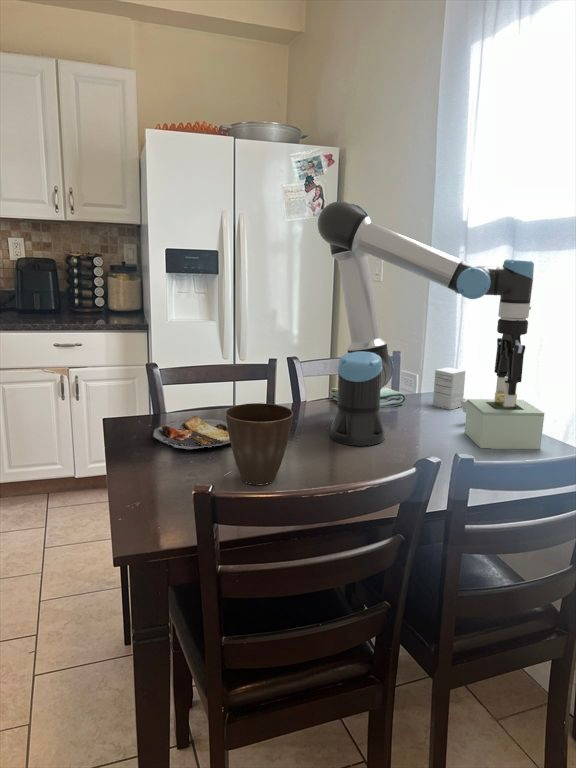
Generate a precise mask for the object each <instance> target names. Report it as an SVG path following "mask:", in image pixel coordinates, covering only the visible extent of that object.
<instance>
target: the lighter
mask: <svg viewBox="0 0 576 768" xmlns="http://www.w3.org/2000/svg"><path fill="white" fill-rule="evenodd" d="M467 399H468V398H463V399H462V400H461V401H460V402H461V406H462V407H461V408H462V411H463V413H465V414H466V410H467Z"/></svg>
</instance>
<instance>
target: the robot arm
mask: <svg viewBox="0 0 576 768" xmlns="http://www.w3.org/2000/svg"><path fill="white" fill-rule="evenodd" d="M317 219H318V220H317V230H318V233H319V234H320V237H321V238H322V239H323V240H324V241H325V242H326V243H328V244H329V249H330V254H331V257H332V258H333V259H335V260H336V261H337V262H338V264H337V265H338V270H339V276H340V283H341V287H342V294H343V300H344V306H345V312H346V318H347V324H348V331H349V338H350V344H349V346H348V347H347V349H346V350H347V352H346V353H344V354H343V355H342V356H340V358H339V362H338V366H337V372H338V375H337V376H338V377H337V387H338V401H337V409H336V413H335V415H334V418H333V421H332V423H331V426H330V430H329V431H330V434H329V437H330V439H332V440H333V441H334V442H336V443H339V444H343V445H348V446H355V445H356V447H358V446H359V447H362V446H363V447H364V446H366V445H368V446H374V444H375V445H378V443H379V444H381V443H383V442H384V440H385V437H386V436H385V426H384V424H383V419H382V417H381V413H380V412H381V411H380V409H381V408H380V391H381V389H382V387H386V385H388V383H389V382H390V380H391V378H392V377H393V373H394V362H393V360H392V357H391V356H390V354H389V351H388V344H387V341H385V340H384V339H383V338H382V337H381V333H380V327H379V321H378V320H379V319H378V313H377V308H376V307H377V306H376V301H375V296H374V289H373V282H372V276H371V270H370V264H369V263H370V262H369V257H368V255H371V256H373V257H376V258H378V259H380V260H382V261H384V262H387V263H390V264H392V265H393V266H396V267H399V268H401V269H402V270H405V271H408V272H410V273H412V274H414V275H417V276H419V277H421V278H424V279H426V280H429V281H430V282H433V283H435V284H436V285H437V284H438V285H440V286H441V287H442V286H443V287H444V288H447V289H450V290H451V291H453V292H455V294H458V295H461V296H462V297H464V298H466V299H469V300H477V299H480V298H482V297H483V296H499V297H500V299H499V305H498V306H499V307H498V314H497V316H498V317H499V318H498V319H497V328H496V329H497V330H496V332H497V333H499V334H502V336H501V337H498V338H497V339H496V343H497V344H496V356H495V365H494V373H495V374H496V378H497V379H496V387H495V388H496V389H495V392H505V394H504V404H503V406H512V407H514V406H515V396H516V394H517V386H518V383H522V378H523V367H524V366H523V365H524V356H525V352H526V345H525V344H522V341H521V336H523V335H526V334H527V333H528V327H529V321H528V318H529V316H530V310H532V306H531V298H532V291H533V282H534V270H535V269H534V268H535V263H534V261H533V260H531V259H519V258H518V259H515V258H514V259H511V258H510V259H509V258H506V259H505V260H504V261H503V264H502V265H500V266H486V265H485V266H483V265H479V266H478V265H475V264H472V263H470V262H467V261H464V260H462V259H460V258H457V257H456V256H453V255H450V254H448V253H446V252H444V251H441V250H439V249H436V248H434V247H431V246H429V245H427V244H424V243H422V242H420V241H417V240H415V239H412V238H410V237H408V236H406V235H402V234H400V233H399V232H395V231H393V230H391V229H389V228H387V227H384V226H381V225H379V224H376V223H375V222H372V219H371V218H370V216H369V214H368V212H367V211H366V210H365V209H364V208H363V207H361V206H360V205H358V204H354V203H349V202H346V201H340V200H339V201H334V202H331V203H328V204H327V205H326V206H325V207H324V208H322V210H321V212H320V213H319V215H318V218H317Z"/></svg>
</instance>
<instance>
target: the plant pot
mask: <svg viewBox="0 0 576 768" xmlns="http://www.w3.org/2000/svg"><path fill="white" fill-rule="evenodd" d="M224 413H225V418H226V420H225V421H226V422H227V427H228V433H229V438H230V443H229V444H230V446H231V450H232V455H233V457H234V458H233V459H234V460H235V464H236V466H237V470H238V472H239V473H238V474H239V475H240V478H241V480H242V482H244V481H245V482H247V483H251V484H266V483H270V482H272V481H273V482H274V481H275V480H276V477H277V475H278V472H279V470H280V468H281V465H282V462H283V459H284V455H285V452H286V449H287V446H288V443H289V438H290V434H291V429H292V422H293V419H294V411H293V410H292V409H291V408H289V407H286V406H285V405H278V404H275V403H262V402H261V403H257V402H255V403H254V402H253V403H244V404H237V405H234V406H231V407H229V408H227V409H226V411H225V412H224ZM245 482H244V483H245ZM273 482H272V483H273ZM247 483H246V484H247ZM270 484H271V483H270Z"/></svg>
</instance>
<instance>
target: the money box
mask: <svg viewBox="0 0 576 768" xmlns="http://www.w3.org/2000/svg"><path fill="white" fill-rule="evenodd" d="M466 399H467V410H466V413H465V424H464V433H465V434H466V436H467V437H469V438H470V439H471V441H473V443H475V444H476V445H477V446H478V447H480V448H479V449H481V448H491V450H492V449H494V450H496V449H498V450H541V447H542V445H541V444H542V437H543V429H544V422H545V421H544V420H545V412H544V411H541V410H540V409H538V408H537V407H535V406H534V405H532V404H531V403H529V402H528V401H526V400H524V399H517V400H516V406H515V407H502V406H497V405H495V404H494V400H495V398H492V399H491V398H490V399H489V398H488V399H485V398H472V399H471V398H466Z"/></svg>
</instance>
